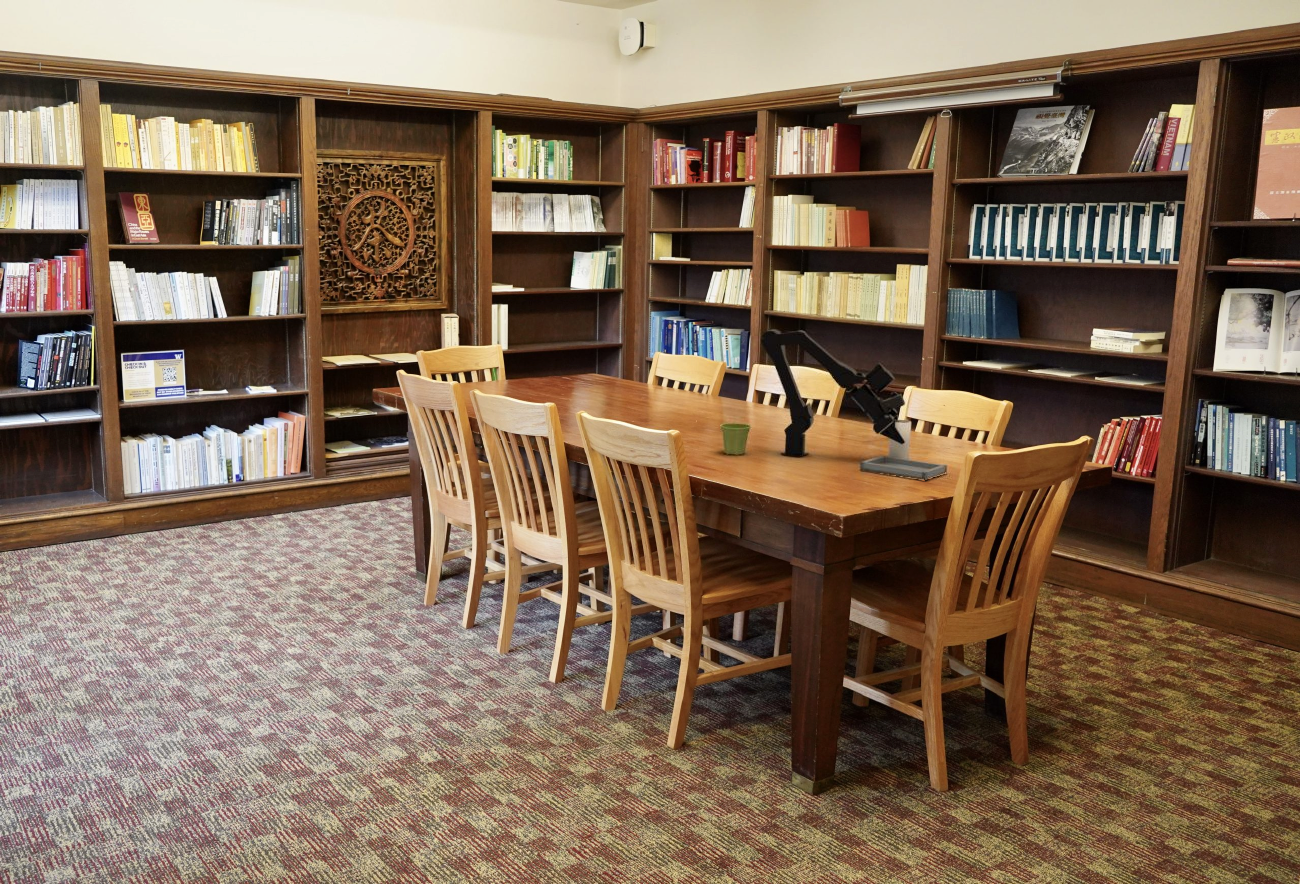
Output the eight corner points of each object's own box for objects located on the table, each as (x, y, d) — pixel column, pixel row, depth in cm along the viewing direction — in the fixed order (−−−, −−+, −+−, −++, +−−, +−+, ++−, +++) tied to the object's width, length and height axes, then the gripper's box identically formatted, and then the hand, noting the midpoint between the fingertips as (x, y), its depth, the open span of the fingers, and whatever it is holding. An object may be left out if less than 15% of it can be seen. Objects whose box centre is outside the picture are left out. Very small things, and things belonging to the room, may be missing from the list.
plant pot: (724, 457, 334) (726, 428, 332) (714, 451, 343) (715, 423, 341) (754, 456, 336) (755, 427, 335) (743, 450, 345) (744, 422, 344)
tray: (924, 481, 307) (925, 472, 306) (859, 470, 319) (860, 462, 319) (946, 474, 317) (947, 465, 317) (882, 463, 330) (883, 455, 329)
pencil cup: (902, 465, 328) (905, 423, 326) (884, 462, 332) (886, 421, 329) (911, 462, 333) (914, 421, 330) (893, 460, 336) (896, 418, 334)
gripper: (887, 388, 320) (924, 428, 319) (892, 380, 338) (926, 419, 337) (857, 413, 324) (894, 453, 323) (864, 404, 341) (898, 442, 340)
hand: (904, 441), depth 331 cm, fingers closed on pencil cup, 6 cm apart
